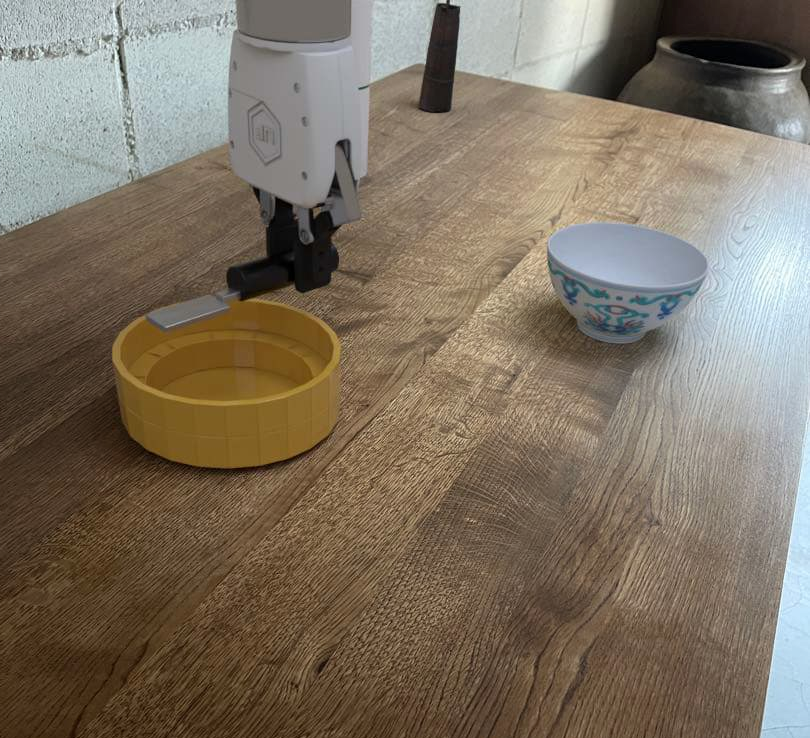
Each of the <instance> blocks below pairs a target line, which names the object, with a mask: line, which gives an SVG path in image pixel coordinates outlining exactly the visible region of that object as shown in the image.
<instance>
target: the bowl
mask: <svg viewBox="0 0 810 738" xmlns="http://www.w3.org/2000/svg"><path fill="white" fill-rule="evenodd" d="M183 302H184V301H181V302H176V303H173V304H170V305H166V306H163V307H160V308H157V309H154V310H152V311H150V312H149V313H151V312H154V311H158V310H161V309H164V308H167V307H170V306H174V305H177V304H180V303H183ZM227 305H229V306H230V311H231V312H230V313H227V314H224V315H221V316H218V317H215V318H212V319H209V320H206V321H203V322H200V323H197V324H194V325H190V326H187V327H184V328H181V329H178V330H175V331H172V332H169V333H165V332H163V331H162V330H160V329H159V328H157V327H156V326H154V325H153V324H151V323H150V322H148V321H147V320H146V314H144V315H142V316H140V317H138V318H135V319H134V320H133V321H132V322H131V323H129V324H128V325H127V326H126V327H124V329H122V330H121V331H120V332H119V333H118V335H117V337H116V338H115V340H114V342H113V344H112V346H111V361H112V366H113V373H114V380H115V386H116V393H117V398H118V405H119V410H120V417H121V422H122V424H123V426H124V428H125V429H126V431H127V433H128V435H129V436H130V438H131V439H133V441H135V442H136V443H138V444H139V445H140V446H141V447H142V448H144V449H145V450H146V451H148V452H150V453H152V454H155V455H157V456H159V457H162V458H163V459H165V460H168V461H171V462H176V463H179V464H185V465H189V466H193V467H200V468H213V469H237V468H238V469H240V468H250V467H251V468H252V467H259V466H264V465H269V464H273V463H276V462H277V463H278V462H280V461H285V460H288V459H291V458H293V457H295V456H298V455H300V454H302V453H304V452H306V451H308V450H311V449H312V448H313V447H315V446H316V445H318V444H319V443H320V442H322V441H323V440H324V439H326V437H328V436H329V435H330V433H331V432H332V430H333V429H334V427H335V426H336V424H337V423H338V421H339V417H340V412H341V411H340V410H341V389H342V388H341V387H342V385H341V384H342V383H341V382H342V344H341V342H340V340H339V337H338V335H337V333H336V332H335V331H334V330H333V328H331V326H330V325H328V324H327V322H325V321H324V320H323V319H321V318H319V317H317V316H316V315H314V314H312V313H310V312H309V311H306V310H304V309H301V308H298V307H295V306H293V305H290V304H286V303H283V302H278V301H272V300H266V299H262V298H252V299H249V300H246V301H243V302H241V301H238V300H236V301H233V302H230V303H227Z"/></svg>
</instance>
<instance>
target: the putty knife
mask: <svg viewBox="0 0 810 738" xmlns="http://www.w3.org/2000/svg"><path fill="white" fill-rule="evenodd" d="M339 256H340V254H339V252H338V248H337V247H336V245H335V244H334V242H333V241H331V274H332V273H335V272H336V271H337V270H338V268H339V266H340V257H339ZM225 278H226V285H227V289H223V290H220V291H218V292H215V295H216V297H215V295H214V296H213V295H212V294H211V293H209V294H206V295H203V296H199V297H196V298H193V299H190V300H187V301H182V302H183V303H180V302H179V303H180V304H177V305H174V306H170V307H167V308H164V309H161V310H158V311H154V310H153V311H154V312H152V311H150V312H151V313H150V312H148V313H146V314H145V315H146V320H147V321H148V322H150V323H151V324H153V325H154V326H156V327H157V328H159V329H160V330H162V331H163V332H165V333H169V332H172V331H175V330H178V329H181V328H184V327H187V326H190V325H194V324H197V323H200V322H203V321H206V320H209V319H212V318H215V317H218V316H221V315H224V314H227V313H230V312H231V311H230V306H229V305H227V303H230V302H233V301H236V300H238V301H241V302H243V301H246V300H249V299H252V298H253V299H256V298H258V297H260V296H264V295H267V294H270V293H274V292H276V291H280V290H282V289H285V288H288V287H292V286H295V281H294V279H295V272H294V248H292V249H289V250H285V251H282V252H279V253H275V254H272V255H268V256H267V255H265V256H262V257H259V258H255V259H252V260H249V261H245V262H242V263H238V264H235V265H232V266H230V267H228V268H227V270H226V275H225Z"/></svg>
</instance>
